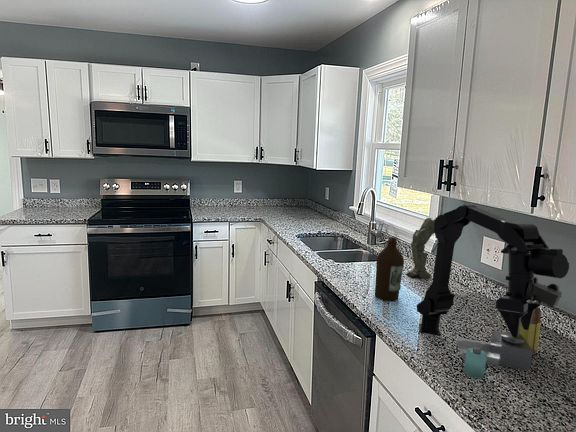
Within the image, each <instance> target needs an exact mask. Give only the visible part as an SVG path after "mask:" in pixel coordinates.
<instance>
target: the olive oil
mask: <svg viewBox="0 0 576 432" xmlns="http://www.w3.org/2000/svg"><path fill="white" fill-rule="evenodd" d="M397 241H398V239H397V237H396V236H389V237H388V240H387V246H386V247H385V248H383V249H382V250H381V251H380V252H379V253H378V255H377V257H376V267H375V268H376V269H375V270H376V271H375V285H374V297H375V298H376V299H377V300H378V299H379V300H381V301H384V302H385V301H386V302H396V301H398V300H399V296H400V290H401V287H402V285H401V282H402V277H403V271H404V265H405V260H404V259H405V258H404V256H403V254H402V253H401V252H400V251H399V249H398V248H397Z"/></svg>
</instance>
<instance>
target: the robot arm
mask: <svg viewBox="0 0 576 432" xmlns="http://www.w3.org/2000/svg"><path fill="white" fill-rule="evenodd" d="M434 219H435V221H434V236H435V238H436V240H437V246H436V253H435V259H434V260H435V261H434V266H433V267H434V268H433V274H432V281H431V284H430V286H429V287H428V288H427V290H426V291H425V294H424V297H423V300H421V301H420V302H419V303H417V304H416V311H417V312H418V313H419V314H421V315H422V316H421V323H419V324H418V328H419V332H420V333H421V334H427V335H432V336H433V335H435V336H442V332H441V330H440V325H441V319H442V318H441V316H442V315H445V316H446V315H448V312H449V310H451V309H452V306H454V298H455V293H453V292H452V291H451V290H450V287H449V284H450V277H451V271H452V264H453V257H454V251H455V249H454V248H455V245H456V242H457V241H458V240H459V239H460V237H461V236H462V233H463V231H464V227H466V226H468V225H470V223H474V224H476V225H478V226H480V227H482V228H485V229H487V230H489V231H491V232H493V233H496V235H498V237H499V239H500V240H501V241H503V242H504V243H505V244H507V245H506V246H505V247H504V248H502V249H501V250H500V253H501V254H508V259H507V262H508V264H507V265H508V270H507V272H508V275H506V276H505V281H507V282H508V283H507V286H508V287H507V288H508V289H507V291H505V295H502V296H501V297H499V298H497V299H496V300H495V309H497V311H498V312H499V313H500V315H501V317H502V318H503V320H504V322H505V324H506V327H507V328H508V331H509V333H511V335H512V337H516V338H517V337H518V332H519V327H520V322H521V323H522V326H523V329H524V330H529V327H530V323H531V320H532V317H533V314H534V311H535V309H536V308H538V307H540V306H542V305H543V303H544V304H546V306H548V307H551V308H554V307H555V306H557V305H558V304H559V301H560V300H561V299H560V298H562V295H563V293H562V291H560V286H559V284H558V285H557V284H556V283H553V282H552V283H550V284H548V285H546V284H542V283H539V279H538V277H537V276H542V277H548V278H549V277H550V278H555V279H563V278H565V277H566V276H567V274H568V272H569V269H570V263H569V261H568V258H567V257H566V255H565V254H564V253H563V251H564V250H563V248H549V246H548V245H547V243H546V241H545V240H544V239H543V237H542V236H541V234H540V232H539V230H538V227H537V226H536V225H535V224H534V223H530V222H525V221H518V220H511V219H506V218H504V217H501V216H499V215H497V214H495V213H492V212H489V211H487V210H484V209H483V208H479V207H478V206H476V205H474V204H462V205H460V206H458V207H457V208H455V209H453V210H449V211H447V212H444V213H443V214H439V215H437V216H436V217H435V218H434ZM535 275H536V276H535ZM536 300H538V303H537V302H536Z"/></svg>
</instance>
